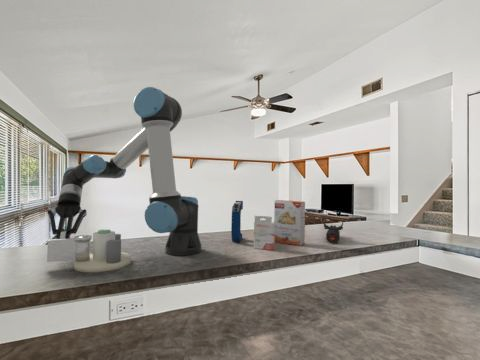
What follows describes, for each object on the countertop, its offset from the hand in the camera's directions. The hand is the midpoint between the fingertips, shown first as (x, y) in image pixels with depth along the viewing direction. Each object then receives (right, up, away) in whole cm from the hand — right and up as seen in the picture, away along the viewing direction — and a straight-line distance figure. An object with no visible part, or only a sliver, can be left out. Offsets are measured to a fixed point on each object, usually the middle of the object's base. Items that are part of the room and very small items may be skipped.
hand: (61, 249), depth 94 cm
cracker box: (+86, -7, +40) cm, 95 cm away
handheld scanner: (+60, -7, +45) cm, 75 cm away
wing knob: (+4, -3, -1) cm, 5 cm away
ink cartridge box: (+72, -7, +30) cm, 79 cm away
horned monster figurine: (+111, -8, +50) cm, 122 cm away
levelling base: (+13, -6, +3) cm, 15 cm away
